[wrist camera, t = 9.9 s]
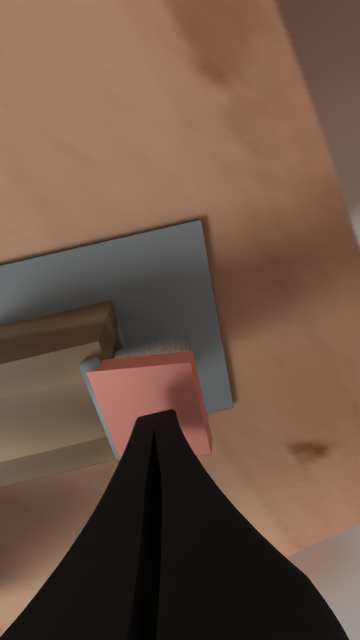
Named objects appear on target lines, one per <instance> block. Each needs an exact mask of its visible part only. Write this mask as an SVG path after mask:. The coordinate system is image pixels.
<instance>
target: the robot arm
mask: <svg viewBox="0 0 360 640" xmlns="http://www.w3.org/2000/svg"><path fill="white" fill-rule="evenodd" d="M0 640H349V639H348V637H347V635H346V633H345V631H344V630H343V628H342V626H341V624H340V622H339V621H338V620H337V618H336V616H335V615H334V613H333V611H332V610H331V609H330V607H329V606H328V604H327V603H326V601H325V600H324V598H323V597H322V596H321V594H320V593H319V592H318V590H317V589H316V588H315V586H314V585H313V584H312V582H311V581H310V579H309V578H308V577H307V576H306V575H305V574H304V573H303V572H302V571H300V570H299V569H298V568H297V567H296V566H294V565H293V564H292V563H291V562H290V561H289V560H288V559H287V558H286V557H284V556H283V555H282V554H281V553H280V552H279V551H278V550H277V549H276V548H275V547H274V546H272V545H271V544H270V543H269V542H268V541H267V540H266V539H265V538H264V537H263V536H262V535H261V534H260V533H259V532H258V531H257V530H256V529H255V528H254V527H253V526H252V525H251V524H250V523H249V522H248V520H247V519H246V518H245V517H244V516H243V515H242V514H241V513H240V512H239V511H238V510H237V509H236V508H235V507H234V505H233V504H232V503H231V502H230V501H229V500H228V498H227V497H226V496H225V495H224V494H223V493H222V491H221V490H220V489H219V487H218V486H217V485H216V484H215V482H214V481H213V480H212V478H211V477H210V476H209V474H208V473H207V472H206V470H205V469H204V467H203V466H202V464H201V463H200V461H199V460H198V458H197V457H196V455H195V454H194V452H193V450H192V448H191V447H190V445H189V443H188V442H187V440H186V438H185V436H184V434H183V432H182V430H181V428H180V425H179V422H178V418H177V414H176V411H175V410H173V409H169V410H165V411H161V412H157V413H152V414H148V415H144V416H140V417H138V418H137V419H136V421H135V424H134V427H133V430H132V433H131V435H130V438H129V441H128V443H127V446H126V448H125V450H124V453H123V455H122V457H121V459H120V462H119V464H118V466H117V468H116V471H115V473H114V475H113V477H112V479H111V481H110V483H109V484H108V486H107V488H106V490H105V492H104V494H103V496H102V498H101V500H100V502H99V503H98V505H97V507H96V509H95V510H94V512H93V514H92V515H91V517H90V519H89V520H88V522H87V524H86V525H85V527H84V528H83V530H82V531H81V533H80V534H79V536H78V537H77V539H76V540H75V542H74V543H73V545H72V546H71V548H70V550H69V551H68V552H67V554H66V555H65V557H64V558H63V560H62V561H61V562H60V564H59V565H58V566H57V568H56V569H55V570H54V572H53V573H52V574H51V576H50V577H49V578H48V580H47V581H46V582H45V583H44V585H43V586H42V587H41V589H40V590H39V591H38V593H37V594H36V595H35V597H34V598H33V599H32V600H31V602H30V603H29V604H28V605H27V607H26V608H25V609H24V610H23V612H22V613H21V614H20V615H19V616H18V617H17V619H16V620H15V621H14V622H13V623H12V624H11V625H10V627H9V628H8V629H7V630H6V631H5V632H4V634H3V635H2V636H1V637H0Z"/></svg>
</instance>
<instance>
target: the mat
mask: <svg viewBox="0 0 360 640" xmlns="http://www.w3.org/2000/svg"><path fill="white" fill-rule="evenodd" d="M110 300H111V301H112V304H113V307H114V310H115V313H116V316H117V320H118V323H119V326H120V329H121V332H122V335H123V338H124V342H125V345H126V348H129V347H134V346H138V345H142V344H146V343H151V342H155V341H159V340H163V339H168V338H172V337H176V336H180V335H184V334H187V336H188V339H189V343H190V347H191V351H193V353H194V358H195V362H196V367H197V372H198V376H199V381H200V385H201V390H202V394H203V399H204V403H205V408H206V413H207V414H210V413H214V412H218V411H222V410H227V409H231V408H234V407H233V401H232V396H231V390H230V384H229V378H228V373H227V367H226V361H225V355H224V350H223V344H222V338H221V332H220V327H219V321H218V315H217V309H216V303H215V298H214V292H213V286H212V280H211V275H210V269H209V263H208V257H207V252H206V246H205V240H204V234H203V229H202V223H201V220H200V219H199V220H195V221H191V222H186V223H182V224H178V225H173V226H169V227H164V228H160V229H156V230H151V231H147V232H143V233H138V234H134V235H130V236H125V237H121V238H117V239H112V240H108V241H104V242H99V243H95V244H91V245H86V246H82V247H78V248H73V249H69V250H65V251H60V252H56V253H51V254H47V255H43V256H38V257H34V258H30V259H25V260H21V261H17V262H12V263H8V264H4V265H0V326H3V325H7V324H11V323H16V322H20V321H24V320H28V319H33V318H37V317H41V316H46V315H50V314H54V313H58V312H63V311H67V310H71V309H76V308H80V307H84V306H88V305H93V304H97V303H101V302H106V301H110Z"/></svg>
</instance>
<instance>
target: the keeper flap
mask: <svg viewBox="0 0 360 640" xmlns="http://www.w3.org/2000/svg"><path fill="white" fill-rule="evenodd" d="M79 368H80V370H81V373H82V375H83V378H84V380H85V383H86V385H87V388H88V390H89V393H90V395H91V398H92V400H93V403H94V405H95V408H96V410H97V413H98V415H99V418H100V420H101V423H102V425H103V428H104V430H105V433H106V436H107V438H108V441H109V443H110V446H111V448H112V451H113V453H114V456H115V458H116V459H117V460H120V459H121V457H122V455H123V453H124V450H125V448H126V446H127V443H128V441H129V438H130V435H131V433H132V430H133V427H134V424H135V421H136V419H137V418H138V417H140V416H144V415H148V414H152V413H157V412H161V411H165V410H169V409H173V410H175V411H176V414H177V418H178V422H179V425H180V428H181V430H182V432H183V434H184V436H185V438H186V440H187V442H188V443H189V445H190V447H191V448H192V450H193V452H194V454H195V455H211V451H212V435H211V431H210V426H209V422H208V417H207V413H206V408H205V403H204V399H203V394H202V390H201V385H200V381H199V376H198V372H197V367H196V362H195V358H194V353H193V351H184V352H175V353H165V354H155V355H145V356H136V357H126V358H116V359H107V360H100V359H99V357H97V356H95V357H91V358H86V359H84V360H83V361H81V362H80V363H79Z"/></svg>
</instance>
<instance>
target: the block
mask: <svg viewBox="0 0 360 640" xmlns="http://www.w3.org/2000/svg"><path fill="white" fill-rule="evenodd" d="M125 348H126V345H125V342H124V338H123V335H122V332H121V329H120V326H119V323H118V320H117V316H116V313H115V310H114V307H113V304H112V301H111V300H110V301H106V302H101V303H97V304H93V305H88V306H84V307H80V308H76V309H71V310H67V311H63V312H58V313H54V314H50V315H46V316H41V317H37V318H33V319H28V320H24V321H20V322H16V323H11V324H7V325H3V326H0V487H3V486H7V485H11V484H15V483H20V482H24V481H28V480H32V479H36V478H40V477H44V476H49V475H53V474H57V473H61V472H65V471H69V470H73V469H77V468H82V467H86V466H90V465H94V464H98V463H102V462H106V461H111V460H115V459H116V458H115V456H114V453H113V451H112V448H111V446H110V443H109V441H108V438H107V436H106V433H105V430H104V428H103V425H102V423H101V420H100V418H99V415H98V413H97V410H96V408H95V405H94V403H93V400H92V398H91V395H90V393H89V390H88V388H87V385H86V383H85V380H84V378H83V375H82V373H81V370H80V368H79V363H80V362H81V361H83V360H84V359H86V358H91V357H95V356H97V357H99V359H100V360H107V359H112V354H113V351H117V350H121V349H125Z"/></svg>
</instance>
